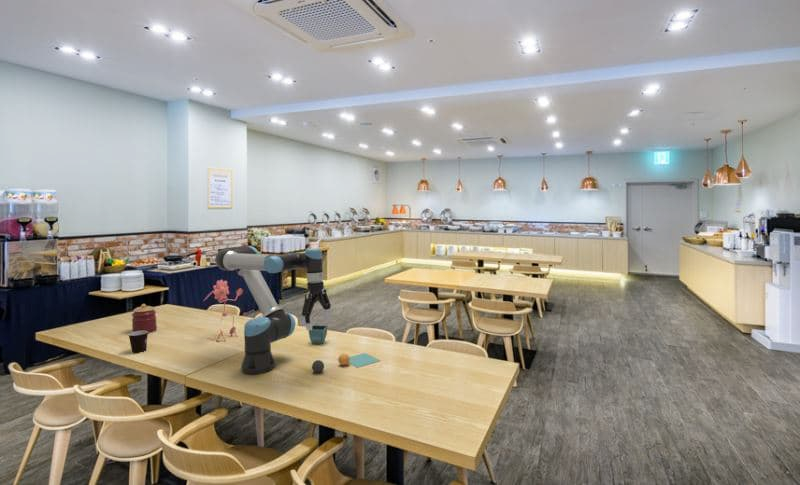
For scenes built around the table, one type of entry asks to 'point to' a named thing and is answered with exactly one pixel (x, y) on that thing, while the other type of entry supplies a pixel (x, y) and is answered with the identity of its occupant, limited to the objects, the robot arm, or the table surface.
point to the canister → (144, 319)
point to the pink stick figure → (220, 293)
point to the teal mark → (362, 360)
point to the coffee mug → (138, 341)
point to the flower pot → (318, 334)
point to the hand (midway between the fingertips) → (317, 326)
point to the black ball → (318, 366)
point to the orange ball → (343, 359)
